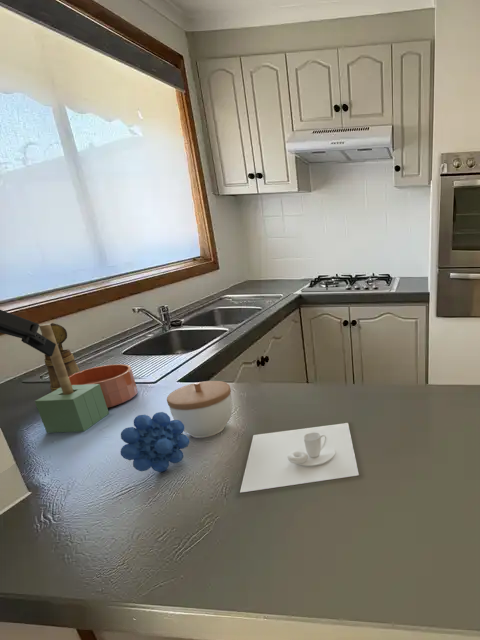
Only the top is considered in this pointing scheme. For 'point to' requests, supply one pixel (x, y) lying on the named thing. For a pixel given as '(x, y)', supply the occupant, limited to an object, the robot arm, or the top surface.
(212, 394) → the lidded bowl
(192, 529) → the top surface
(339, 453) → the teacup and saucer
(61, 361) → the stick
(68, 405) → the stick stand
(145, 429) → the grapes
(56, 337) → the wooden barrel with disc
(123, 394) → the mixing bowl
